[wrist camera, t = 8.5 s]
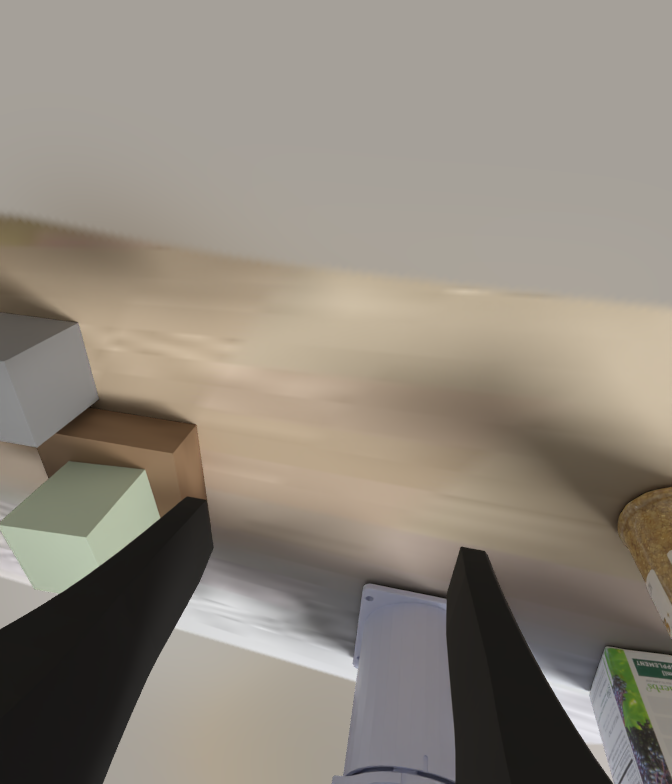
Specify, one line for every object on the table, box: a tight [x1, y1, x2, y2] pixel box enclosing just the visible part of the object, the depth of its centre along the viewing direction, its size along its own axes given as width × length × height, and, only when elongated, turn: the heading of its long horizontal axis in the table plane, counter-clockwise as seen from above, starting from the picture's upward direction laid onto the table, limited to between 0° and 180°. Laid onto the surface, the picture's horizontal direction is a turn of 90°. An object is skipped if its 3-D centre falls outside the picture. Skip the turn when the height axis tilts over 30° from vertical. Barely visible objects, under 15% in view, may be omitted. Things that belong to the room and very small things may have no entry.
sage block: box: [0, 461, 160, 594], centre depth 22 cm, size 4×4×4 cm
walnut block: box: [37, 407, 211, 527], centre depth 25 cm, size 8×8×3 cm
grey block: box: [0, 312, 99, 447], centre depth 21 cm, size 4×4×4 cm
